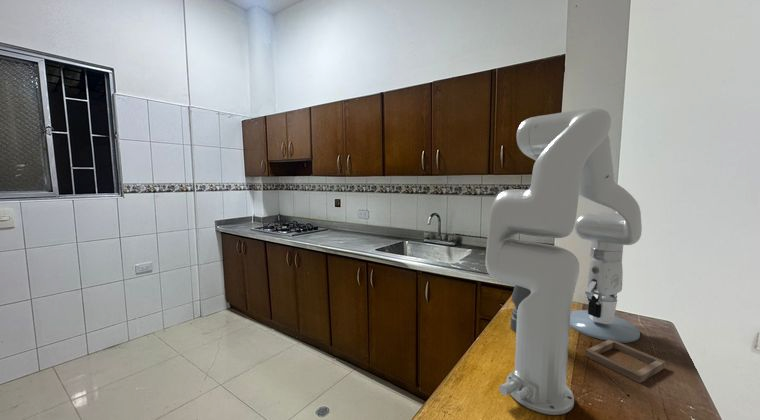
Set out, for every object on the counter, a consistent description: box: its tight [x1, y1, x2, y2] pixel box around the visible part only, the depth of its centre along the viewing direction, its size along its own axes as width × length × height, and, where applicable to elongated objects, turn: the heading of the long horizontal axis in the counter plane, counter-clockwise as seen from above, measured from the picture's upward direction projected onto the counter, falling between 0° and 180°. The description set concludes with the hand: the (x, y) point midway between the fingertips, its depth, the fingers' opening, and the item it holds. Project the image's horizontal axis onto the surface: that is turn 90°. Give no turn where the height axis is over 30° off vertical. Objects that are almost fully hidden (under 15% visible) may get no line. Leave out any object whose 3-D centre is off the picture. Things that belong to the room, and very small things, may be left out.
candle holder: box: [510, 285, 531, 333], centre depth 90 cm, size 6×6×25 cm
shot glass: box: [590, 294, 618, 324], centre depth 91 cm, size 7×7×7 cm
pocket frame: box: [584, 339, 666, 384], centre depth 75 cm, size 12×12×2 cm
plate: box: [570, 309, 641, 344], centre depth 92 cm, size 18×18×1 cm
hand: (601, 312), depth 92 cm, fingers closed on shot glass, 6 cm apart
